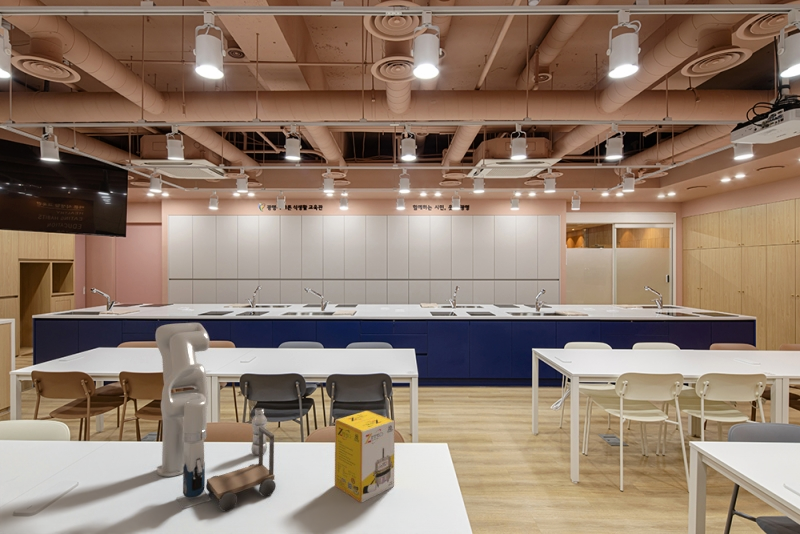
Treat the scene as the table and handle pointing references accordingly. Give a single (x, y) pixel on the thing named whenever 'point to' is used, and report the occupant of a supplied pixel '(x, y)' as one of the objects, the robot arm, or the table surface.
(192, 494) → the soda can
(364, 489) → the packaging box
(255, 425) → the plastic bottle
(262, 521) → the table surface
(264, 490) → the trolley
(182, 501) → the mat
